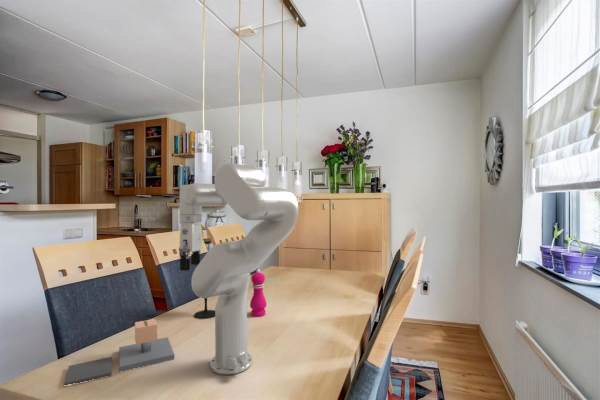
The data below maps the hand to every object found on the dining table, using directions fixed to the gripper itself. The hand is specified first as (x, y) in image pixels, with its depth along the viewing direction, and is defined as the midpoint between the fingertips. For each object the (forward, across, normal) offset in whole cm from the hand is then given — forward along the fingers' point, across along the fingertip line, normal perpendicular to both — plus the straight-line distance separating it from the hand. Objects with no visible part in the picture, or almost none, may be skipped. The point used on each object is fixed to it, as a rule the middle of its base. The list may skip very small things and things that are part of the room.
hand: (190, 267), depth 112 cm
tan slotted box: (+21, -11, +10) cm, 26 cm away
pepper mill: (+27, +28, -20) cm, 43 cm away
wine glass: (+27, +27, +4) cm, 38 cm away
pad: (+26, -21, +21) cm, 40 cm away
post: (+25, -11, +10) cm, 29 cm away
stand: (+26, -11, +10) cm, 30 cm away
